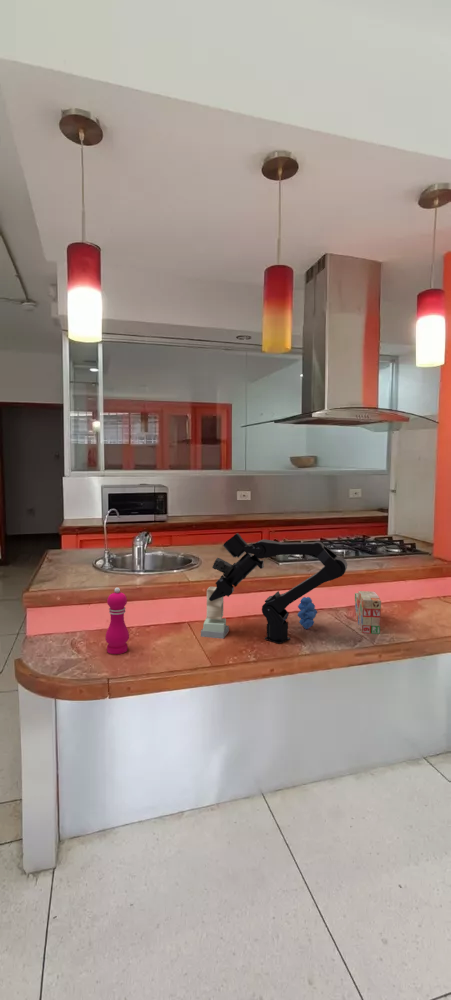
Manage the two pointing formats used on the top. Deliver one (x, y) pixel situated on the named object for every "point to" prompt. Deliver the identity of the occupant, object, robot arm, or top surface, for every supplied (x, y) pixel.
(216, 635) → the tower base block
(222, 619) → the tower top block
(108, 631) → the pepper mill
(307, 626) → the grapes
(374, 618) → the stack of blocks
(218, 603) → the ash pillar
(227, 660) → the top surface
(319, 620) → the top surface
